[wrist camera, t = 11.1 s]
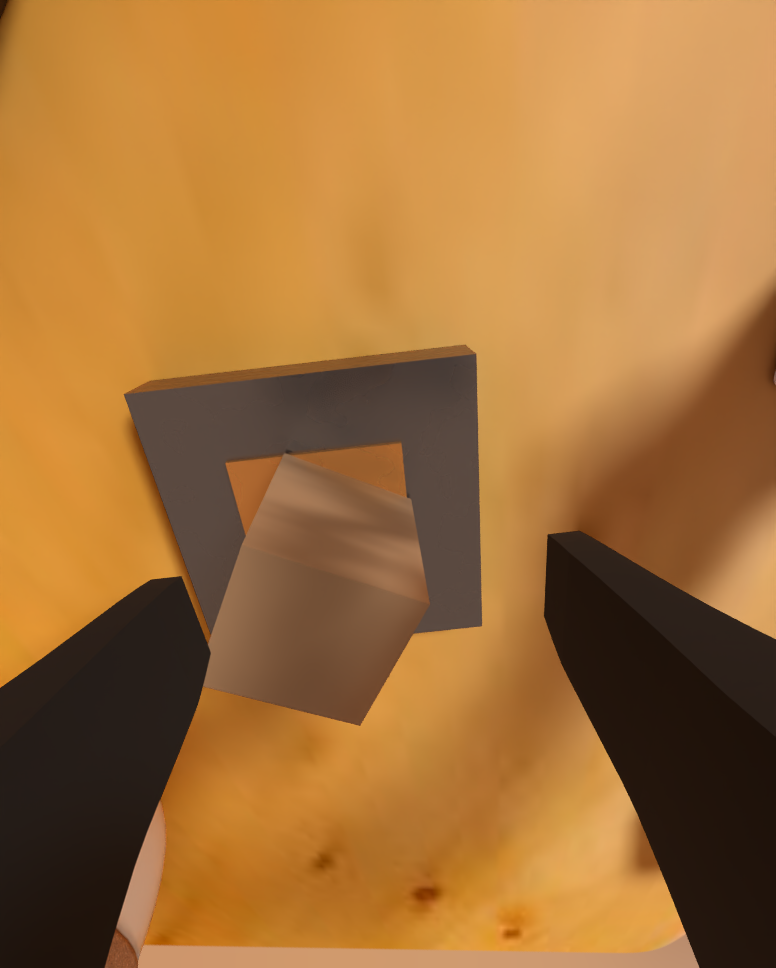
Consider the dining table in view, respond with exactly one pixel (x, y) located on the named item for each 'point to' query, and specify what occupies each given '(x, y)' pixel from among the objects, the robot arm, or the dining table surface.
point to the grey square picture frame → (323, 458)
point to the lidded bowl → (140, 897)
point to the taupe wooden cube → (320, 595)
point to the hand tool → (2, 6)
